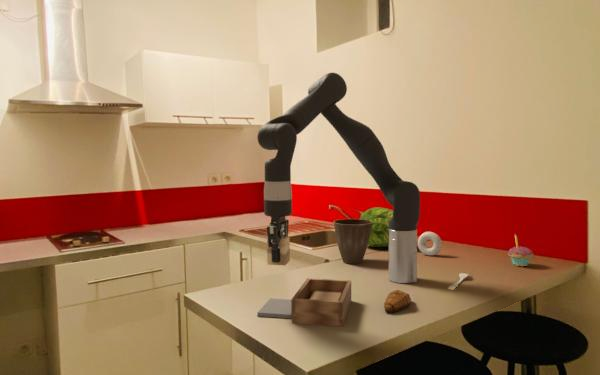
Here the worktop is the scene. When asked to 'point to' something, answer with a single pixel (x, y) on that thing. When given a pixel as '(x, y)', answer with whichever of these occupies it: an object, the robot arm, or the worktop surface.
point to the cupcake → (520, 254)
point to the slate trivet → (276, 308)
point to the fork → (460, 279)
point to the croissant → (396, 301)
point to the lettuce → (378, 225)
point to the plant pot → (352, 238)
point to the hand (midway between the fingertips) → (278, 259)
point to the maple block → (283, 252)
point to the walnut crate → (321, 302)
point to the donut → (434, 238)
